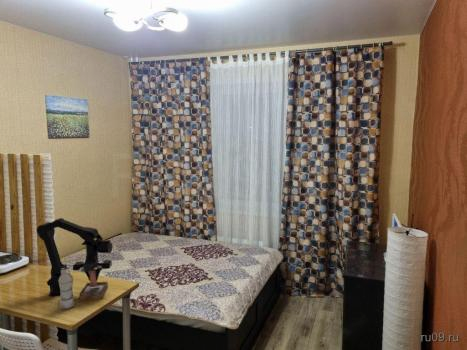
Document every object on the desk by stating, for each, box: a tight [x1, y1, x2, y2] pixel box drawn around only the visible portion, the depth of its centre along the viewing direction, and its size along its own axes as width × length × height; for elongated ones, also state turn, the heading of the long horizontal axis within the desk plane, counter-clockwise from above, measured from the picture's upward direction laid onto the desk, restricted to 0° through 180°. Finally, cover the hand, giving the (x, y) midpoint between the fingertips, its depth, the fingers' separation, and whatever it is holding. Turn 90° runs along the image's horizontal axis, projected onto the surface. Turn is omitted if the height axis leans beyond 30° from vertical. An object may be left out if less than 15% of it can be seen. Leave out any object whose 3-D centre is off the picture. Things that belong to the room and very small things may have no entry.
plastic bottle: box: [58, 267, 75, 310], centre depth 168 cm, size 6×7×20 cm
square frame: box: [79, 281, 109, 301], centre depth 183 cm, size 11×13×4 cm
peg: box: [89, 268, 98, 287], centre depth 182 cm, size 3×3×9 cm
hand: (93, 280), depth 182 cm, fingers closed on peg, 3 cm apart
